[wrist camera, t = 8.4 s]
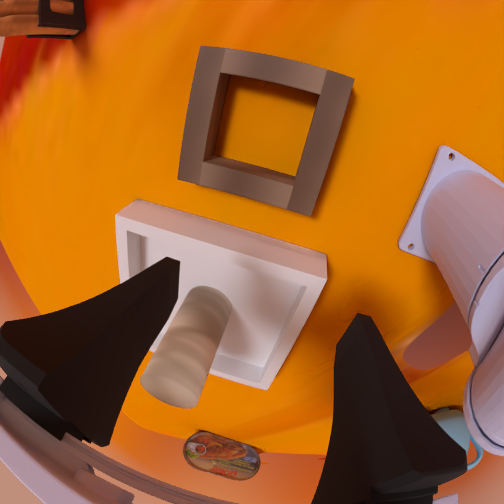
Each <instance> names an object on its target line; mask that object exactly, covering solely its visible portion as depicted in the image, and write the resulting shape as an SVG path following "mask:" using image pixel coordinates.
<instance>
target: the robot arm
mask: <svg viewBox="0 0 504 504" xmlns="http://www.w3.org/2000/svg"><path fill="white" fill-rule="evenodd" d="M450 153H452V158H451V159H449V154H450ZM409 244H413V245H412V246H411V247H408V245H409ZM398 246H399V248H400V249H401V250H403V251H406V252H408V253H411V254H414V255H416V256H419V257H421V258H424V259H427V260H429V261H432V262H434V263H436V265H437V267H438V268H439V270H440V272H441V274H442V276H443V278H444V279H445V281H446V283H447V285H448V287H449V289H450V291H451V293H452V295H453V297H454V299H455V301H456V303H457V305H458V307H459V309H460V312H461V314H462V316H463V318H464V320H465V322H466V325H467V327H468V329H469V332H470V334H471V337H472V344H471V347H470V349H469V352H470V355H471V358H472V361H473V363H474V366H475V369H474V370H473V371H472V373H471V374H470V376H469V378H468V380H467V382H466V386H465V389H464V395H463V412H464V418H465V421H466V425H467V427H468V429H469V432H470V434H471V435H472V437H473V438H474V440H475V441H476V442H477V443H478V444H479V445H480V446H481V447H482V448H483V449H485V450H486V451H488V452H490V453H492V454H495V455H500V456H504V183H502V182H501V181H500V180H498V179H497V178H496V177H494V176H493V175H492V174H490V173H489V172H487V171H486V170H484V169H483V168H482V167H480V166H479V165H477V164H476V163H474V162H473V161H471V160H469V159H468V158H466V157H465V156H463V155H461V154H460V153H458V152H457V151H455V150H453V149H452V148H450V147H448V146H446V145H441V146H440V147H439V149H438V151H437V154H436V156H435V159H434V162H433V164H432V167H431V170H430V172H429V175H428V177H427V180H426V182H425V184H424V187H423V189H422V191H421V194H420V196H419V198H418V201H417V203H416V205H415V207H414V209H413V212H412V214H411V216H410V218H409V220H408V222H407V224H406V226H405V228H404V231H403V233H402V235H401V237H400V239H399V241H398ZM179 275H180V261H179V260H176V259H173V258H170V257H165V258H163V259H161V260H160V261H158V262H156V263H155V264H153V265H151V266H150V267H148V268H146V269H145V270H143V271H141V272H140V273H138V274H136V275H135V276H133V277H131V278H130V279H128V280H126V281H124V282H123V283H121V284H119V285H117V286H115V287H113V288H112V289H110V290H108V291H106V292H104V293H102V294H100V295H98V296H95V297H93V298H91V299H89V300H86V301H84V302H81V303H79V304H76V305H73V306H70V307H67V308H64V309H62V310H59V311H55V312H52V313H48V314H44V315H40V316H36V317H31V318H26V319H20V320H13V321H7V322H5V323H4V324H3V325H2V326H1V328H0V367H1V368H2V369H3V371H4V372H5V373H6V374H7V377H6V378H5V380H4V379H3V378H2V377H1V376H0V459H1V460H2V461H3V463H4V464H5V465H6V466H7V467H8V468H9V469H10V470H11V471H12V473H13V474H14V475H15V476H16V477H17V478H18V479H19V480H20V481H21V482H22V483H23V484H24V485H25V486H26V487H27V488H28V489H29V490H30V491H31V492H32V493H34V494H35V495H36V496H37V497H38V498H39V499H40V500H41V501H42V502H43V503H45V504H132V501H133V499H134V494H132V493H130V492H128V491H126V490H124V489H121V488H120V487H118V486H116V485H114V484H112V483H110V482H108V481H106V480H104V479H102V478H100V477H98V476H96V475H95V473H94V470H93V468H92V467H94V468H96V469H98V470H100V471H101V472H103V473H105V474H107V475H109V476H111V477H112V478H114V479H116V480H118V481H121V482H123V483H125V484H127V485H129V486H131V487H133V488H136V489H138V490H140V491H142V492H145V493H147V494H150V495H152V496H155V497H157V498H160V499H163V500H165V501H168V502H171V503H174V504H237V503H233V502H228V501H224V500H220V499H216V498H212V497H208V496H204V495H201V494H198V493H194V492H191V491H188V490H185V489H182V488H179V487H176V486H173V485H170V484H168V483H165V482H162V481H160V480H157V479H154V478H152V477H149V476H147V475H145V474H143V473H140V472H138V471H136V470H134V469H131V468H129V467H127V466H125V465H123V464H121V463H119V462H117V461H115V460H113V459H111V458H109V457H107V456H105V455H104V454H102V453H100V452H98V451H96V450H95V449H93V448H91V447H89V446H88V445H86V444H84V443H83V442H82V440H85V441H87V442H88V443H91V442H93V443H95V444H96V445H98V446H100V447H104V446H107V445H109V444H110V440H111V436H112V433H113V430H114V427H115V424H116V421H117V418H118V415H119V413H120V410H121V408H122V405H123V402H124V400H125V397H126V395H127V393H128V390H129V388H130V386H131V383H132V381H133V379H134V377H135V375H136V372H137V370H138V368H139V366H140V364H141V362H142V361H143V359H144V357H145V356H146V354H147V352H148V351H149V349H150V348H151V346H152V344H153V343H154V341H155V340H156V338H157V337H158V335H159V333H160V332H161V330H162V329H163V327H164V325H165V324H166V322H167V321H168V319H169V317H170V315H171V313H172V311H173V309H174V307H175V304H176V302H177V300H178V293H179ZM90 465H91V466H90ZM467 470H468V468H467V456H466V450H465V449H464V448H462V447H461V446H460V445H459V444H458V443H457V442H456V441H455V440H453V439H452V438H451V437H450V436H449V435H448V434H447V433H446V432H445V431H444V430H443V429H442V427H441V426H440V425H439V424H438V423H437V422H436V421H435V420H434V418H433V417H432V416H431V415H430V414H429V412H428V411H427V410H426V409H425V407H424V406H423V405H422V403H421V402H420V401H419V399H418V398H417V396H416V395H415V393H414V392H413V390H412V389H411V387H410V386H409V384H408V383H407V381H406V379H405V378H404V376H403V374H402V373H401V371H400V369H399V367H398V366H397V364H396V362H395V360H394V359H393V357H392V355H391V353H390V351H389V349H388V347H387V345H386V344H385V342H384V340H383V338H382V336H381V334H380V332H379V330H378V328H377V327H376V325H375V323H374V321H373V320H372V318H371V316H367V315H363V314H359V313H357V315H356V316H355V318H354V319H353V321H352V323H351V324H350V326H349V327H348V329H347V330H346V332H345V333H344V335H343V336H342V338H341V339H340V341H339V342H338V344H337V346H336V354H335V362H334V409H333V423H332V430H331V436H330V441H329V446H328V451H327V455H326V460H325V464H324V467H323V471H322V474H321V478H320V481H319V484H318V487H317V490H316V493H315V495H314V498H313V500H312V503H311V504H458V494H457V493H455V494H452V495H449V496H445V497H441V498H438V499H434V500H433V494H436V493H437V492H438V485H441V484H443V483H445V482H448V481H450V480H453V479H455V478H457V477H459V476H461V475H463V474H464V473H465V472H466V471H467Z"/></svg>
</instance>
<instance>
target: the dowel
mask: <svg viewBox="0 0 504 504" xmlns="http://www.w3.org/2000/svg"><path fill="white" fill-rule="evenodd" d="M231 311H232V306H231V303H230V301H229V299H228V298H227V297H226V296H225V295H224V294H223V293H222V292H220V291H219V290H217V289H215V288H212V287H209V286H197V287H194V288H192V289H191V290H190V291H189V292H188V294H187V296H186V298H185V299H184V301H183V303H182V305H181V306H180V308H179V310H178V312H177V313H176V315H175V317H174V319H173V320H172V322H171V324H170V326H169V327H168V329H167V331H166V333H165V334H164V336H163V338H162V340H161V342H160V343H159V345H158V347H157V349H156V351H155V352H154V354H153V356H152V358H151V360H150V362H149V363H148V365H147V367H146V369H145V371H144V373H143V375H142V376H141V378H140V382H141V384H142V386H143V387H144V388H145V390H146V391H148V392H149V393H150V394H151V395H152V396H154V397H155V398H157V399H159V400H161V401H163V402H165V403H167V404H169V405H172V406H175V407H179V408H193V407H195V406H196V405H197V403H198V400H199V397H200V395H201V392H202V389H203V387H204V384H205V381H206V379H207V376H208V373H209V371H210V368H211V365H212V363H213V360H214V357H215V355H216V352H217V349H218V347H219V344H220V341H221V339H222V336H223V333H224V331H225V328H226V325H227V323H228V320H229V317H230V315H231Z"/></svg>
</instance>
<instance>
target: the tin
mask: <svg viewBox="0 0 504 504" xmlns="http://www.w3.org/2000/svg"><path fill="white" fill-rule="evenodd" d="M183 454H184V457H185V460H186V461H187V462H188V464H190V465H191V466H192V467H193V468H195V469H198V470H201V471H204V472H208V473H211V474H214V475H218V476H221V477H225V478H229V479H232V480H239V481H240V480H241V481H242V480H247V479H250V478H251V477H253V476H254V475H255V474H256V473H257V472H258V470H259V467H260V457H259V455H258V453H257V451H256V450H255V449H254V448H253V447H251V446H250V445H248V444H245V443H241V442H238V441H235V440H231V439H228V438H225V437H222V436H219V435H216V434H213V433H210V432H198V433H195V434H193V435H192V436H190V437H189V438H188V439H187V441H186V443H185V444H184V447H183Z"/></svg>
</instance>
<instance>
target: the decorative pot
mask: <svg viewBox="0 0 504 504" xmlns="http://www.w3.org/2000/svg"><path fill="white" fill-rule="evenodd" d="M431 416H432V417H433V418H434V420H435V421H436V422H437V423H438V424H439V425H440V426H441V427H442V429H443V430H444V431H445V432H446V433H447V434H448V435H449V436H450V437H451V438H452V439H453V440H455V441H456V442H457V443H458V444H459V445H460V446H461V447H462V448H464V449H465V450H466V456H467V453H468V449H469V443H470V440H471V441H472V443H473V444H474V446H475V448H476V451H477V458H476V459H475V461H473V462H472V463H470V464H467V468H468V470H469V469H471V468H473V467H474V466H475V465H477V464H478V462H479V461H480V460H481V458H482V456H483V448H482V447H481V446H480V445H479V444H478V443H477V442H476V441H475V440H474V438H473V437H472V435H471V434H470V432H469V429H468V427H467V425H466V421H465V418H464V413H462V412H461V411H460V410H449V408H442V409H440V410H438V411H436V412H435V414H431Z"/></svg>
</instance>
